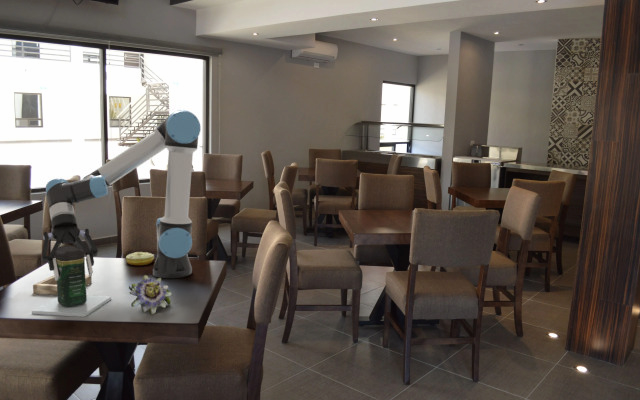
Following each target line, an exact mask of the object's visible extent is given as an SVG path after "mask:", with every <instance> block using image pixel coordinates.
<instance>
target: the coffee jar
mask: <svg viewBox="0 0 640 400" xmlns="http://www.w3.org/2000/svg"><path fill="white" fill-rule="evenodd" d="M54 258H56V263H57V269H58V275H59V277H58V280H57V284H56V285H57V297H56V298H58V302H59V304H61V305H62V306H65V307H67V306H78V305H81V304H83V303H86V301H87V286H86V281H85V275H86V267H85V266H86V265H85V262H86V257H85V254H84V251H83V250H82V249H80V248H78V247H77V246H75V245H70V244H69V245H63V246H62V245H61V246H60V247H59V248H58V249H57V250H56V251H55V257H54Z"/></svg>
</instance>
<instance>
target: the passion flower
mask: <svg viewBox="0 0 640 400" xmlns="http://www.w3.org/2000/svg"><path fill="white" fill-rule="evenodd" d="M128 289H129V290H130V292H129V295H132V296H135V297H136V298H135V299H134V300H133V301H132V302H131V307H132V308H133V307H138V306H139V305H140V306H141V311H142V312H143V313H144V314H145V313H147V312H150V314H151V315H155V314H156V311H157V307H158V306H159V307H161V308H163V309H165V308H166V307H167V305H168V306H170V305H171V298H170V297H171V296H172V295H173V294H172V292H171V291H169V290H168V289H169V286H168V285H163V284H162V278H159V277H157V278H156V279H153V280H152V277H151V278H149V276H148V275H146V274H144V275H143V277H142V280H141V281H140V282H137V283H132V284H131V286H130V285H129V286H128Z"/></svg>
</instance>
